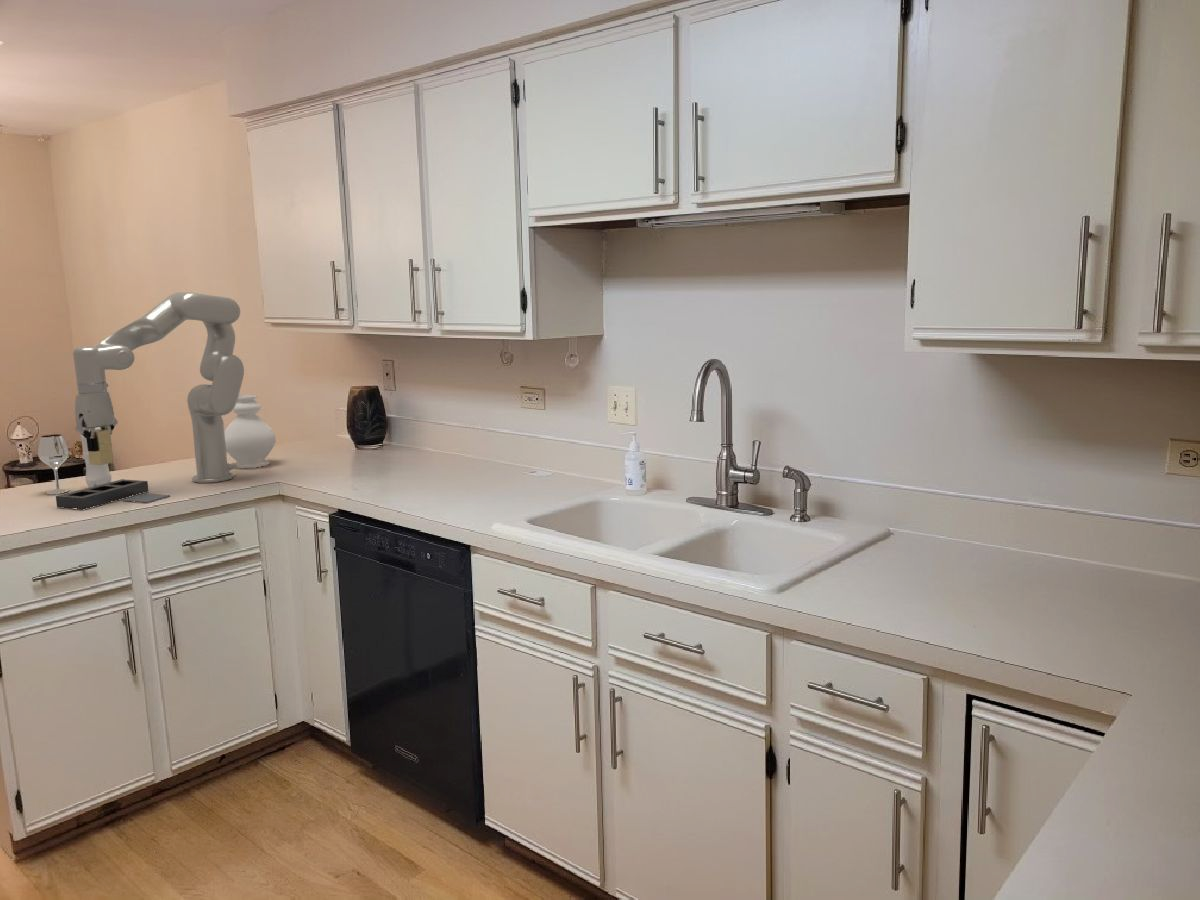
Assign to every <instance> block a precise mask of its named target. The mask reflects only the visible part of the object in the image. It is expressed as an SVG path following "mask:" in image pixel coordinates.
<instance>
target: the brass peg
mask: <svg viewBox="0 0 1200 900" xmlns="http://www.w3.org/2000/svg"><path fill="white" fill-rule="evenodd" d="M89 433H90V431H89ZM110 436H111V435H110V430H107V429H96V430H95V435H94V438H96V440H97V448H98V451H96V452H93V451H88V453H89V461H90V465H105V464H108V465H109V464H112V463H114V455H113V448H112V445H113V444H112V438H111V437H112V436H111V437H110ZM111 444H112V445H111Z"/></svg>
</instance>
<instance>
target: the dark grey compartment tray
mask: <svg viewBox="0 0 1200 900" xmlns="http://www.w3.org/2000/svg"><path fill="white" fill-rule="evenodd" d="M147 491H149V484H148V481H147V480H139V479H138V480H137V479H117V480H114V481H111V482H110V483H106V484H102V485H98V486H94V487H90V488H89V487H88V488H83V489H79V490H75V491H70V492H68V493H64V494H57V495H55V503H56V508H57V507H64V508H77V509H86V508H90V507H93V506H97V505H100V506H102V505H101V504H104V505H106V504H105V503H108V502H111V501H115V500H118V501H120V500H119V499H122V498H125V499H127V498H126V497H129V496H132V495H136V494H139V493H143V492H147ZM147 493H148V492H147ZM143 494H144V493H143ZM136 496H137V495H136ZM129 498H130V497H129ZM122 500H123V499H122ZM115 502H116V501H115ZM111 503H112V502H111ZM108 504H109V503H108ZM97 507H98V506H97ZM64 508H63V509H64ZM93 508H94V507H93ZM90 509H91V508H90ZM86 510H87V509H86Z"/></svg>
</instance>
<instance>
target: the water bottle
mask: <svg viewBox="0 0 1200 900" xmlns="http://www.w3.org/2000/svg"><path fill="white" fill-rule="evenodd" d="M83 429H84V428H83ZM96 429H100V427H97V428H95V430H96ZM89 431H90V430H89ZM80 439H81V446H82V458H83V460H84V463H85V482H86V485H87V487H88V488H90V487H94V486H98V485H102V484H106V483H110V482H112V475H111V472H110V468H109V464H105V465H90V461H89V453H88V448H87V440H86V438H84V436H83V435H82V434H81V433H80Z"/></svg>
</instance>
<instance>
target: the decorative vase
mask: <svg viewBox="0 0 1200 900" xmlns="http://www.w3.org/2000/svg"><path fill="white" fill-rule="evenodd" d="M257 398H258V397H257V395H256V394H242V395H241V394H239V396H238V399H237V402H236V405H235V407H234V409H233V410H232V412H234V414H236V415H237V416H236V417H235V418H233V420H232V421H231V422H230V423H229V424H228V426H226V428H225V429H224V430H225V443H226V453H227V454H228V455H229V456H230V457H231V458H233V460H235V462H234V463H235V464H236V465H237V467H236V468H235V469H239V468H249V469H256V468H255V467H259V468H262V467H261V466H264V467H266V466H265V465H267V466H269V465H270V461H268V460H265V459H266V458H267V457H268V456H269V455H270V453H271V451H272V450H273V449H274V447H275V444H276V434H275V432H274V430H273V429H272V427H271V426H270V425H269V424H268V423H267V422H266V421H265V420H264V419H263V418H261V417H260V416H259V415H258V412H259V411H260V410H261V404H260V403H259V402H258V401H256V400H255V399H257ZM268 464H269V465H268Z"/></svg>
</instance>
